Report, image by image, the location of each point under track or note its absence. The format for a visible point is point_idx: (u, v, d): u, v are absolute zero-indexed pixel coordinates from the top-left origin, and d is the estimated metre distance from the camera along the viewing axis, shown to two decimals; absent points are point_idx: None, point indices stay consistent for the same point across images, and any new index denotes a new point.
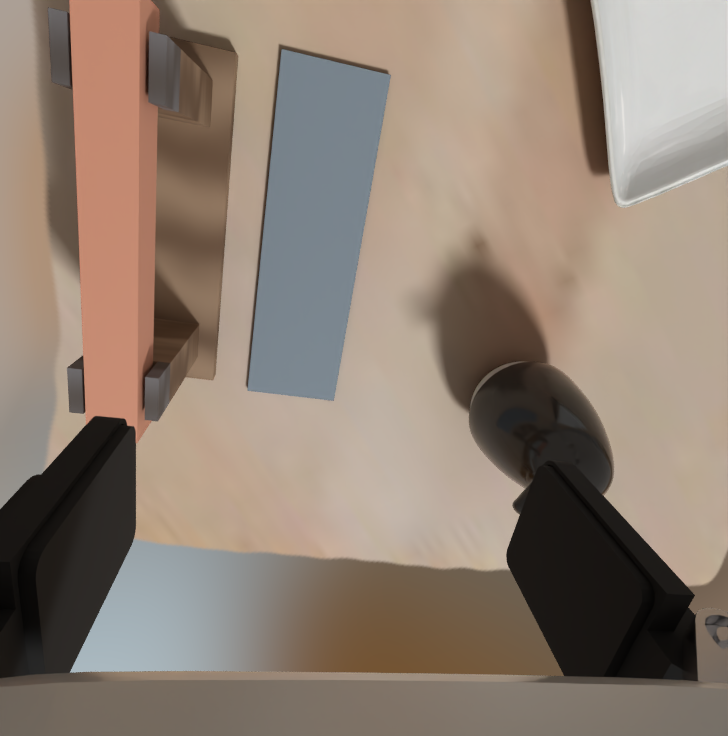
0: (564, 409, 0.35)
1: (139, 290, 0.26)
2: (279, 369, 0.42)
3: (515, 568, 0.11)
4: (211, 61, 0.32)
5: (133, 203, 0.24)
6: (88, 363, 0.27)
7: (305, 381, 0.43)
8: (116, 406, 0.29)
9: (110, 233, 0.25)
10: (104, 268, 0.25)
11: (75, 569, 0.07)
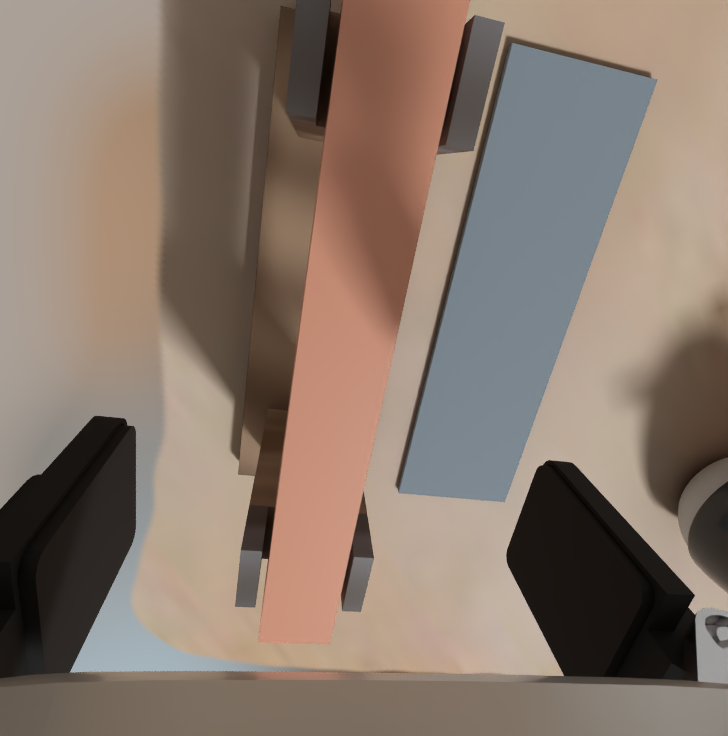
0: None
1: (372, 444, 0.16)
2: (442, 467, 0.32)
3: (515, 568, 0.11)
4: None
5: (392, 315, 0.14)
6: (278, 547, 0.17)
7: (473, 480, 0.33)
8: (309, 601, 0.19)
9: (345, 363, 0.15)
10: (326, 415, 0.15)
11: (75, 569, 0.07)
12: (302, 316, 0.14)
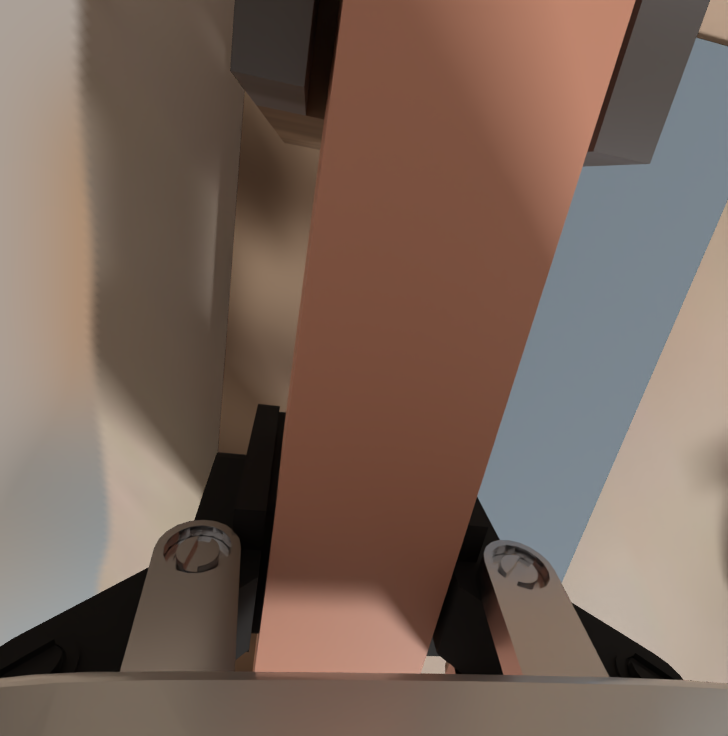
0: None
1: None
2: None
3: None
4: None
5: (461, 492, 0.07)
6: None
7: None
8: None
9: (366, 575, 0.07)
10: (329, 658, 0.08)
11: None
12: (279, 501, 0.07)
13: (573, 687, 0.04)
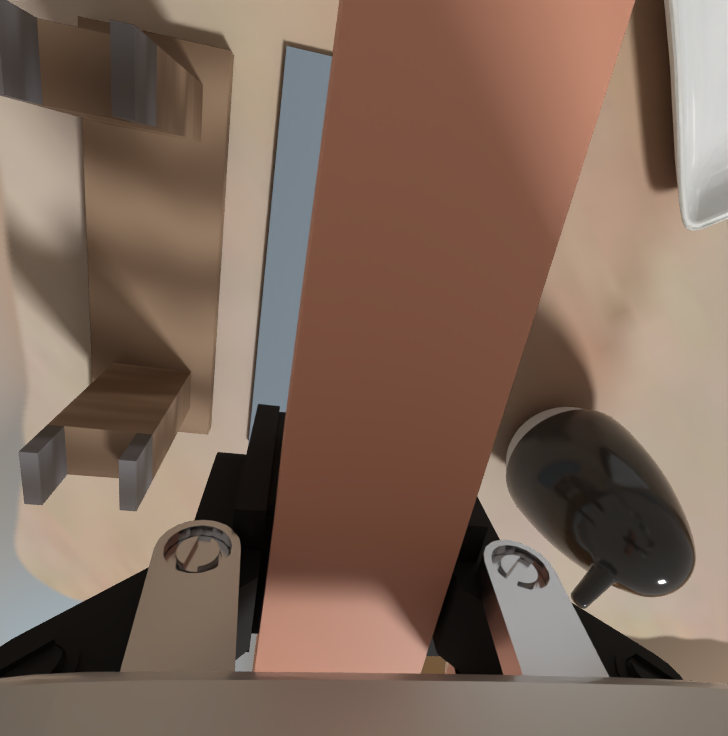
0: (630, 476, 0.29)
1: None
2: None
3: None
4: (201, 61, 0.26)
5: (459, 494, 0.07)
6: None
7: None
8: None
9: (365, 577, 0.07)
10: (328, 659, 0.08)
11: None
12: (278, 503, 0.07)
13: (573, 687, 0.04)
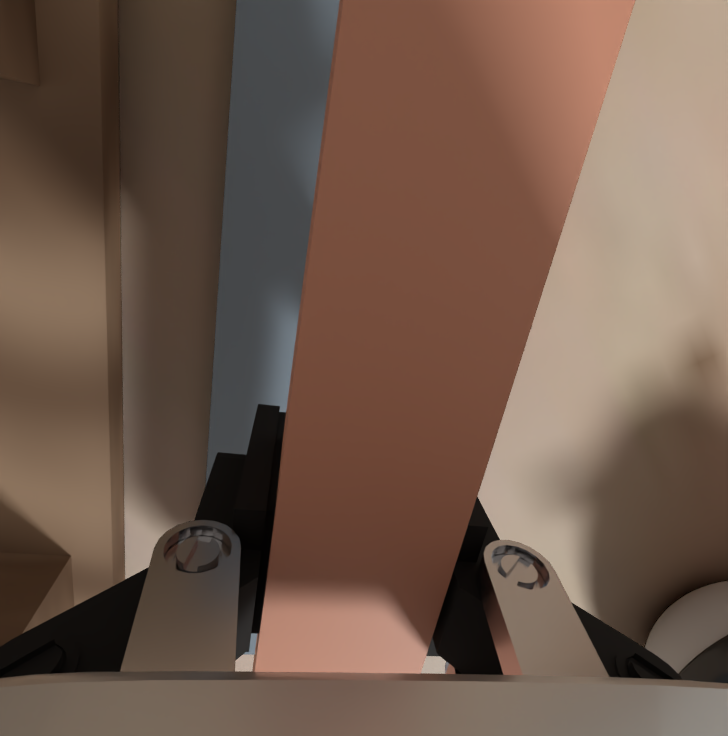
0: None
1: None
2: None
3: None
4: None
5: (459, 495, 0.07)
6: None
7: None
8: None
9: (365, 577, 0.08)
10: (328, 660, 0.08)
11: None
12: (278, 505, 0.07)
13: (573, 687, 0.04)
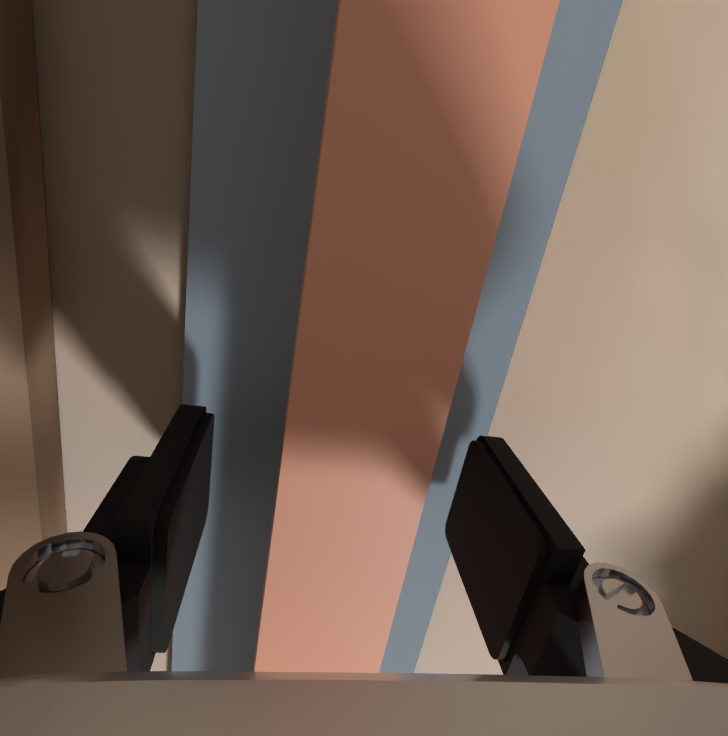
0: None
1: (396, 600, 0.11)
2: None
3: (450, 539, 0.12)
4: None
5: (430, 425, 0.09)
6: None
7: None
8: None
9: (357, 495, 0.09)
10: (327, 568, 0.10)
11: (182, 536, 0.08)
12: (287, 431, 0.09)
13: (573, 687, 0.04)
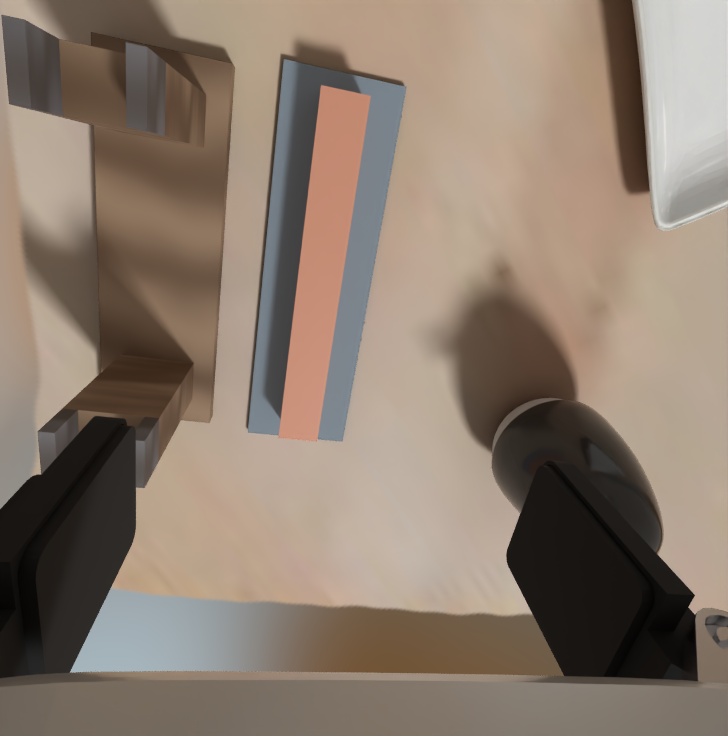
0: (604, 460, 0.31)
1: (335, 319, 0.33)
2: None
3: (515, 568, 0.11)
4: (204, 73, 0.28)
5: (342, 252, 0.31)
6: (289, 377, 0.34)
7: None
8: (305, 411, 0.35)
9: (321, 276, 0.32)
10: (313, 302, 0.32)
11: (75, 569, 0.07)
12: (301, 253, 0.31)
13: (573, 687, 0.04)
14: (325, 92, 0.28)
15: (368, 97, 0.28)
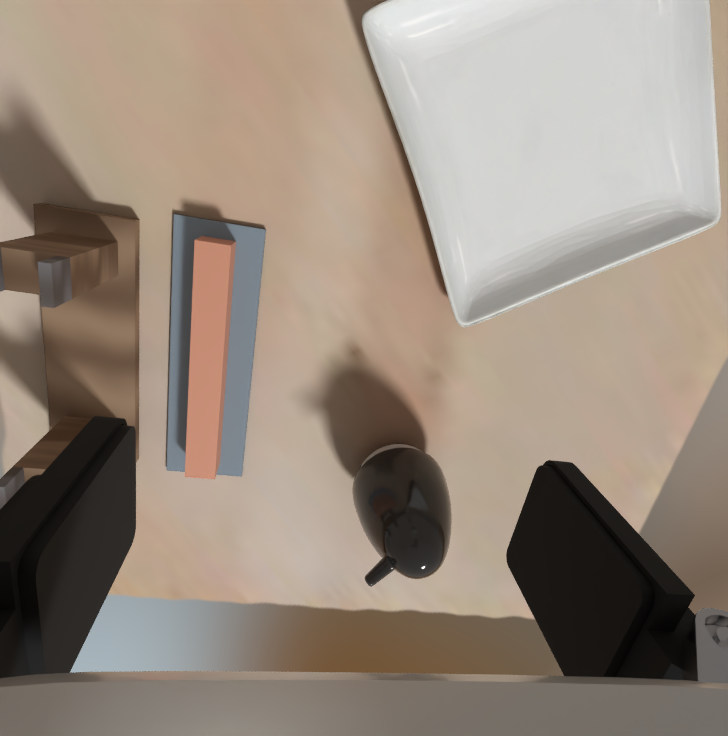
0: (410, 498, 0.43)
1: (220, 392, 0.45)
2: None
3: (515, 568, 0.11)
4: (115, 227, 0.40)
5: (220, 347, 0.43)
6: (189, 433, 0.46)
7: None
8: (203, 458, 0.47)
9: (207, 363, 0.43)
10: (202, 382, 0.44)
11: (75, 569, 0.07)
12: (190, 348, 0.43)
13: (573, 687, 0.04)
14: (198, 244, 0.39)
15: (229, 246, 0.40)
